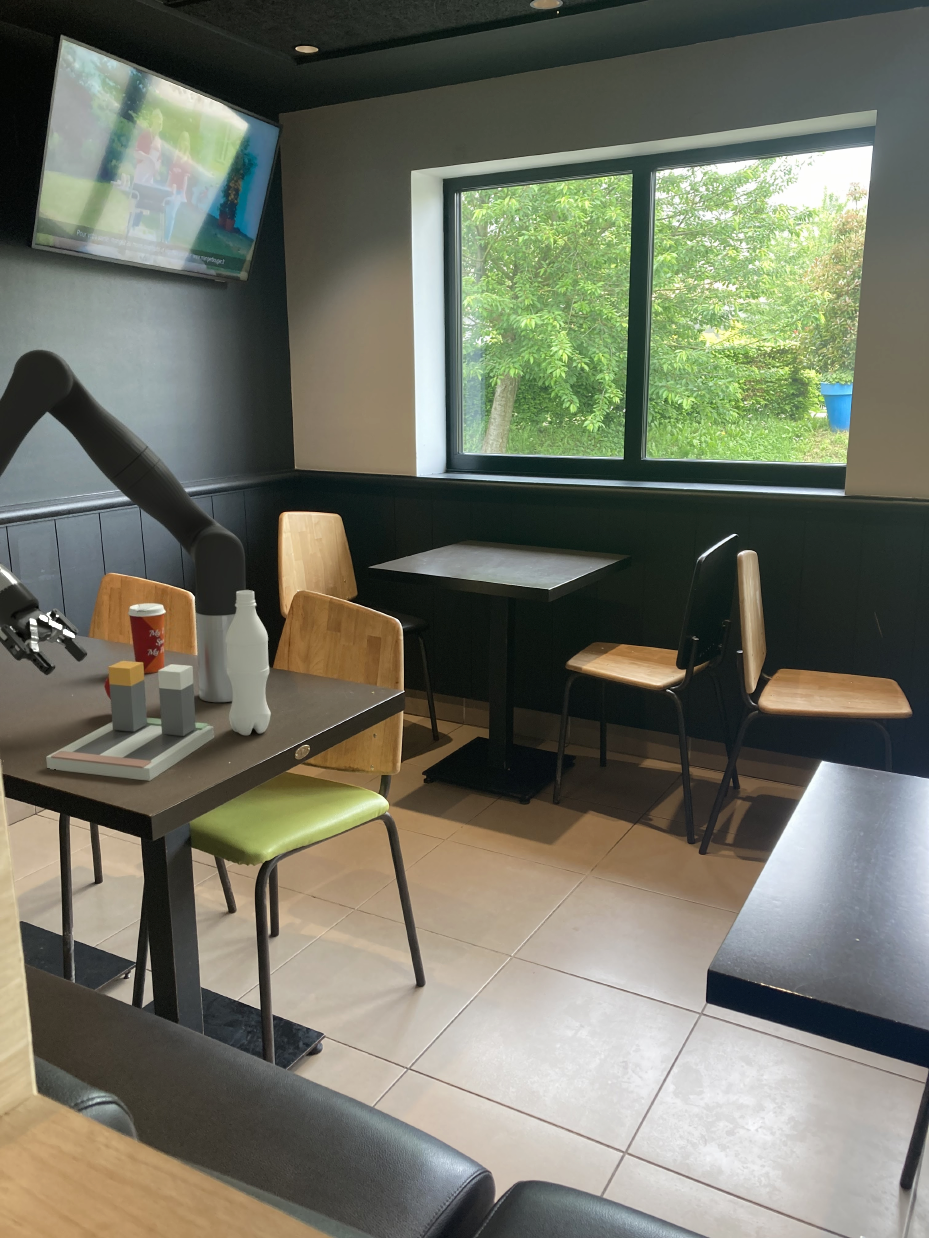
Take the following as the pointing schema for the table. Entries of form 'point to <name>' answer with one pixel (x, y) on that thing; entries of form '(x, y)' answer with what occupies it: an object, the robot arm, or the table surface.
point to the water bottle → (247, 667)
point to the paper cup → (148, 635)
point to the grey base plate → (142, 736)
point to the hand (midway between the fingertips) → (68, 664)
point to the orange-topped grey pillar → (127, 695)
